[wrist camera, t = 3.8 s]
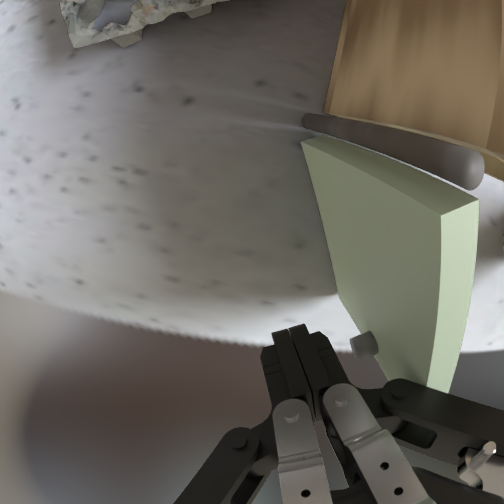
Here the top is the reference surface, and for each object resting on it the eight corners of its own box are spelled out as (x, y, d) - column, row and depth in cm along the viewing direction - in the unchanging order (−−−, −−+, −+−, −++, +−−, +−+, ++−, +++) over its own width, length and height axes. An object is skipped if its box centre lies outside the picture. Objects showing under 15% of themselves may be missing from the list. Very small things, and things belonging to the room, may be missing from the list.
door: (322, 134, 14) (478, 199, 5) (356, 290, 19) (439, 417, 10) (280, 147, 14) (401, 232, 5) (324, 303, 19) (395, 440, 10)
